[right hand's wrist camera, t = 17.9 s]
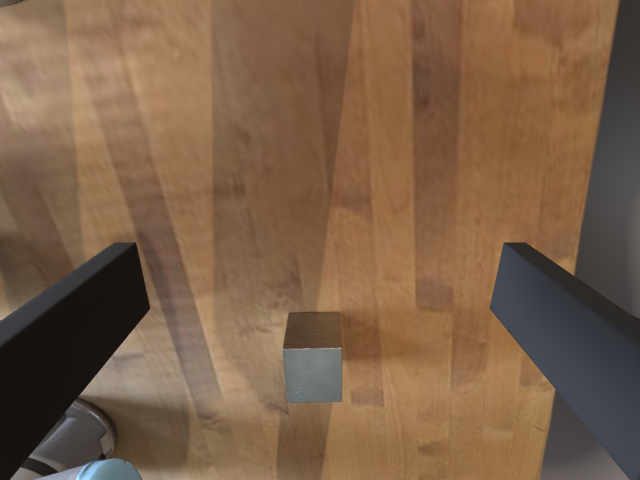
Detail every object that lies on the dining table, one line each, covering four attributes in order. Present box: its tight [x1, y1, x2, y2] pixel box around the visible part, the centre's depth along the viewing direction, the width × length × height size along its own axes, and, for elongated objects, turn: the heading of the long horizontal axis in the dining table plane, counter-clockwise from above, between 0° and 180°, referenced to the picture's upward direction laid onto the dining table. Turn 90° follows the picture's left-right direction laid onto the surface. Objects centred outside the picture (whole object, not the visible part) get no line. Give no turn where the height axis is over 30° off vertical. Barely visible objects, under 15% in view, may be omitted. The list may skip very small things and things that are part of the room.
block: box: [283, 312, 342, 402], centre depth 45 cm, size 8×7×8 cm
